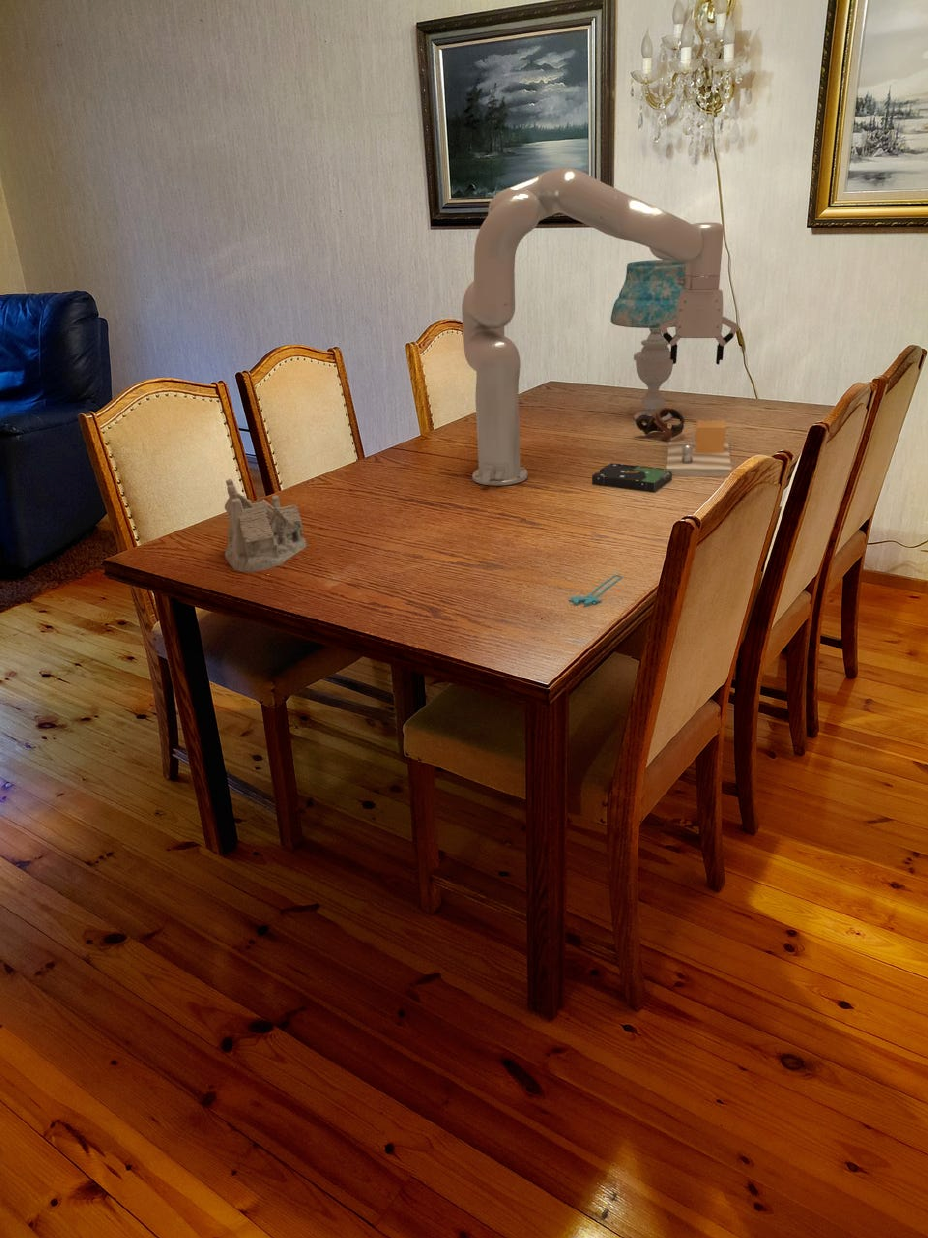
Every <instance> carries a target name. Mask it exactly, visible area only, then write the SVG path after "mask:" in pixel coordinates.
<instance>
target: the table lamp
mask: <svg viewBox="0 0 928 1238" xmlns="http://www.w3.org/2000/svg"><path fill="white" fill-rule="evenodd" d="M685 270H686V262H685V263H680V262H674V261H666V260H662V259H657V260H655V259H653V260H652V259H651V260H642V261H633V262H629V263H627V265H626V274H625V279H624V281H623V285H622V287H621V289H620V291H619V292H618V297H617V298H616V299H615V301H614V303H613V306H612V311H611V313H610V323H611V324H613V325H615V326H618V327H626V328H637V329H638V328H641V329H642V328H643V329H649V332H650V333H649V334H648V337H647V338H646V339H643V340H641V342H640V345H641V346H642V348H641V349H640V351H638V352H635V353H634V355H633V359H634V361H635V362H636V372H637V376H638V379H639V380H640V381H641V383H643V384H645V386H646V387H647V390H648V391H646V392H645V396H643V397H642V398H641V401H640V402H641V405H640V406H641V409H643V411H639V412H637V413H635V415H634V416H633V417H634V419H635V420H636V419H637V418H638V417H639V416H640V415H642V414H646V415H649V416H651V415H653V414H654V413H656V412H658V410H659V409H661V408H666V407H665V406H666V398H665V397H664V396H662V392H661V391H660V388H661V386H662V385H663V384H664V383H666V382H667V381H668V379H669V378H670V377H671V375H672V372H673V366H674V364H673V360H670V352H671V350H670V348H669V347H668V346H669V345H670V344H669V343H668V342H667V341H666V339H665V338H664V337H663V334H662V332H661V330H660V328H659V327H660V325H661V324H662V323H664V322H666V321H668V320H670V319H672V318H674V317H676V315H677V307H678V300H679V296H680V292H681V290H684V286H683V285H678V278H684V277H685ZM675 325H676V324H674V325H672V326H670V327H669V328H675ZM671 418H672V415H671V414H670V413H668V415H666V416H665V417H662V419H663V420H664V421H665V422H666V421H669V420H670V419H671ZM642 423H646V422H645V421H642Z"/></svg>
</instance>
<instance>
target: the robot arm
mask: <svg viewBox="0 0 928 1238" xmlns="http://www.w3.org/2000/svg"><path fill="white" fill-rule="evenodd" d="M487 210H488V214H487V216H486V218H485V220H484V221H483V223H482V224H481V226H480V228H479V230H478V234H477V236H476V239H475V243H474V250H473V251H474V253H473V281H472V282H471V283H470V284H469V285H468V286H467V287H466V289H465V291H464V295H463V297H462V298H463V299H462V303H461V304H462V307H461V309H462V313H461V314H462V316H461V317H462V338H463V339H462V340H463V341H462V342H463V353H464V358H465V360H466V363H467V364H468V365H469V367H470V368H471V369H472V370H473V371H475V372H476V377H475V378H476V382H475V393H474V394H475V395H474V396H475V415H476V416H475V417H476V435H477V436H476V439H477V440H476V441H477V460H478V469H476V470H475V471H473V472H472V475H471V479H472V481H473V482H475V483H477V484H481V485H484V486H491V487H492V486H494V487H495V486H498V487H499V486H509V485H515V484H518V483H521V482H523V481H526V479H527V478H528V470H527V469H525V468H524V467H521V439H520V437H521V435H520V432H521V431H520V402H519V401H520V399H519V398H520V396H519V395H520V394H519V388H520V387H519V386H520V376H521V367H522V366H521V365H522V363H521V355H520V352H519V350H518V347H517V346H516V344H515V343H514V341H512V340H511V339H510V338H509V337H507V336H505V326H507V325H508V324H510V323H511V321H512V320H513V318H514V316H515V314H516V313H515V312H516V283H515V282H516V281H515V280H516V279H515V278H516V277H515V276H516V274H515V270H516V269H515V266H516V255H517V252H518V251H517V250H518V247H519V245H520V243H521V242H522V240H523V238H524V237H525V236H526V235H528V234H529V233H530V232H532V231H533V230H534V229H535V228H536V227H537V226H538V223H539V222H540V221H542V220H544V219H546V218H549V217H551V216H553V215H555V214H558V213H559V214H563V215H565V216H567V217H570V218H572V219H573V220H576V221H578V222H581V223H582V224H584V225H587V226H589V227H591V228H593V229H594V230H597V231H599V232H601V233H603V234H605V235H607V236H610V237H613V238H616V239H619V240H622V241H629V242H633V243H637V244H639V245H643V246H645V247H647V248H649V251H650V252H651V254H652V255H653V256H654V257H656V258H657V259H658V260H666V261H674V262H680V263H685V262H686V270H685V277H684V278H678V285H683V286H684V290H681V292H680V296H679V300H678V307H677V315H676V317H674V318H672V319H670V320H668V321H666V322H664V323H662V324H661V325H660V327H659V328H660V330H661V333H662V335H663V337H664V339H666V341H667V342H668V343H669V345H670V351H671V352H670V360H673V365H675V364H677V357H678V355H677V353H678V344H677V343H678V341H679V340H681V339H715V340H716V342H718V344H717V347H716V349H717V350H716V359H715V363H716V365H720V362H721V361H724V353H725V352H724V351H725V346H726V345H727V344H728V343H729V342H730V341H731V340H732V339H733V338H734V336H735V335H736V333H737V332H738V331H739V328H740V326H739V324H738V323H736V322H734V321H732V320H731V319H729V318H727V317H725V316H724V291H723V290H722V289H720V282H721V271H722V261H723V259H722V258H723V247H724V237H725V236H724V235H725V231H724V229H725V228H724V226H723V224H721V223H720V222H696V223H693V224H692V223H690V222H688V221H686V220H685V219H683V218H681V217H679V216H677V215H674V214H672V213H671V212H669V211H666V210H664V209H661V208H659V207H656V206H654V205H651V204H649V203H647V202H644V201H643V200H641V199H639V198H636V197H634V196H632V195H629V194H627V193H626V192H623V191H621V190H618V189H617V188H615V187H613V186H612V185H609V184H606V183H605V182H602V181H601V180H599V179H598V178H595V177H593V176H591V175H589V174H587V173H585V172H584V171H581V170H579V169H576V168H573V167H572V168H571V167H562V168H561V167H560V168H554V169H551V170H548V171H546V172H544V173H542V174H539V175H537V176H534V177H532V178H530V179H527V180H525V181H522V182H520V183H517V184H515V185H513V186H511V187H507V188H505V189H502V190H501V191H499V192H497V193H496V194H495V195H494V196H493V198H492V199H491V200H490V202H489V206H488V209H487ZM674 324H676V325H675V327H674V330H675V332H674V333H675V334H674V335H673V336H672V335H671V334H670V333H669V332H668V328H671V327H670V326H672V325H674ZM723 326H726V327H728V328H730V330H729V332H728V333H727V334H726V335H725V336H723V335H722V332H723Z"/></svg>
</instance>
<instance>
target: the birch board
mask: <svg viewBox="0 0 928 1238" xmlns="http://www.w3.org/2000/svg"><path fill="white" fill-rule="evenodd" d="M683 444H693V445H694V446H693V462H692V463H690V464H684V463H682V447H683ZM695 444H696V442H668V446H667V456H666V469H665V470H669V471H671V473H672V477H673V476H674V477H675V476H676V477H679V476H680V477H682V476H683V477H724V478H725V477H727V476H728V475H729V474H730V473H731V474H732V465H731V455H730V448H729V443H727V442H724V453H695Z"/></svg>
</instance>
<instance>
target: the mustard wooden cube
mask: <svg viewBox="0 0 928 1238" xmlns="http://www.w3.org/2000/svg"><path fill="white" fill-rule="evenodd" d="M725 436H726V421H725V420H696V430H695V443H696V444H695V453H724V443H725V438H726V437H725Z"/></svg>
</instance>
